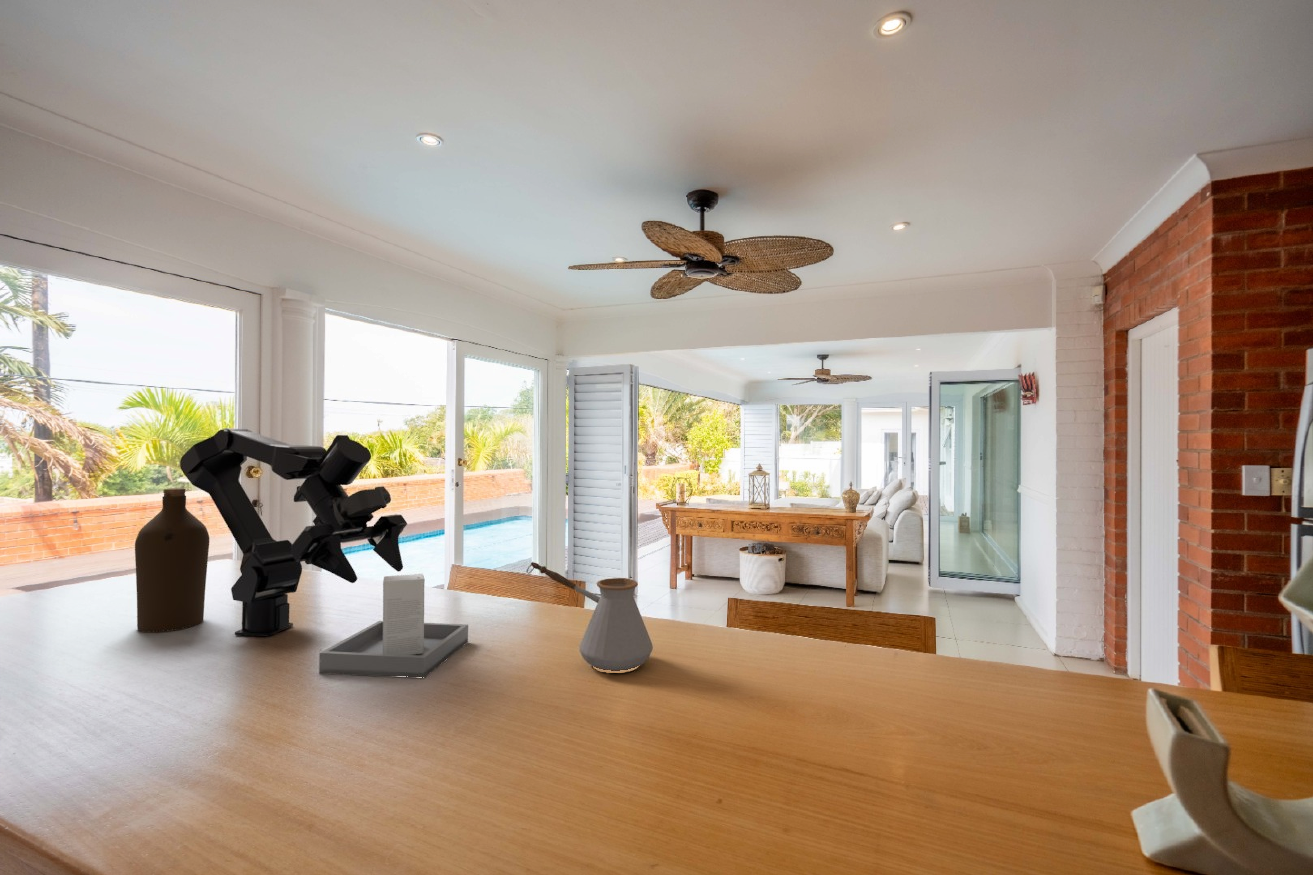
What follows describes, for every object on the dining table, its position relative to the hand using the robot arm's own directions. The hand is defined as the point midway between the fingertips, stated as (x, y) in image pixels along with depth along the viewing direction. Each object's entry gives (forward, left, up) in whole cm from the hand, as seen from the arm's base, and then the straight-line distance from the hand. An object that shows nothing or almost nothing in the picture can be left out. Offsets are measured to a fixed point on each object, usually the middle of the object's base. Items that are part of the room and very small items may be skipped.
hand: (379, 575), depth 96 cm
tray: (+4, -1, -13) cm, 13 cm away
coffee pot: (+34, +1, -13) cm, 37 cm away
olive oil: (-45, +9, -13) cm, 47 cm away
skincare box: (+5, -2, -12) cm, 13 cm away
